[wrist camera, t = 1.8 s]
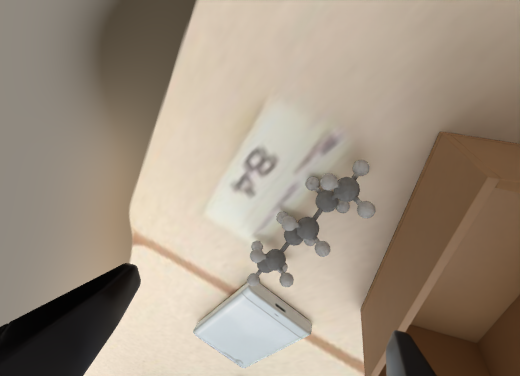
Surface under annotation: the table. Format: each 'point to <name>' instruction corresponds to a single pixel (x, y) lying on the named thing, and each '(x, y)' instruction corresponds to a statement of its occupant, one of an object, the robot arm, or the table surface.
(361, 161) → the molecular model
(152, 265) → the table surface
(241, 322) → the hard drive
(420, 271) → the carton
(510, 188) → the carton flap
